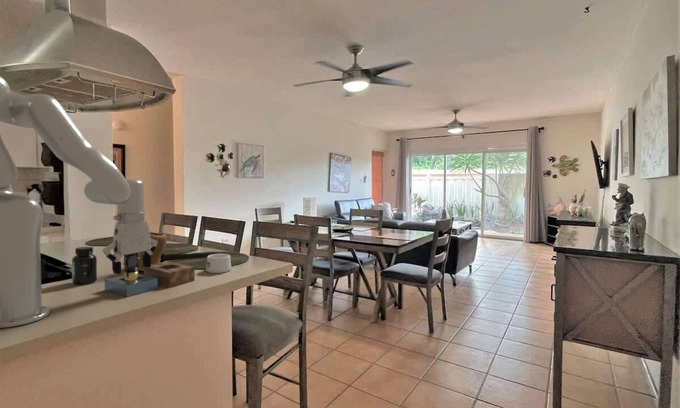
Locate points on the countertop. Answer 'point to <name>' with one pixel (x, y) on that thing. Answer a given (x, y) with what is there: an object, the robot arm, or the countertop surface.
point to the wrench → (182, 256)
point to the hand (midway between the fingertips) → (132, 270)
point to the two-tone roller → (131, 267)
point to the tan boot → (157, 252)
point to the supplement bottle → (84, 266)
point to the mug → (218, 263)
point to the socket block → (130, 285)
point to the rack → (171, 273)
